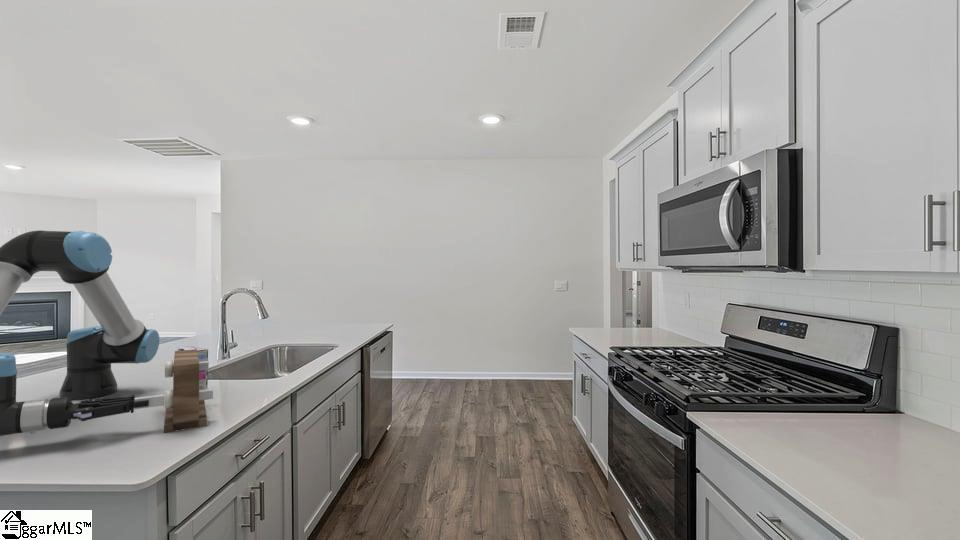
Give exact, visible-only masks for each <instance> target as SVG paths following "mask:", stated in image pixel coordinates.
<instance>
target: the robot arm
mask: <svg viewBox="0 0 960 540" xmlns="http://www.w3.org/2000/svg"><path fill="white" fill-rule="evenodd" d="M112 253H113V251H112V247H111V245H110V243H109V242H108V240H107V239H106V238H105V237H104V236H102V235H101V234H98V233H96V232H90V231H84V230H74V231H66V230H64V231H62V230H61V231H60V230H59V231H58V230H32V231H28V232H25V233H21V234H18V235H17V236H15V237H13V238H11V239H10V240H8V241H6V242H5V243H4V244H2V245H1V246H0V316H1V315H2V314H3V312H4V311H5V309H6V308H7V306H8V305H9V304H10V302H11V300H12V299H13V297H14V295H16V293H17V291H18V289H19V288H20V287H21V285H22V284H23V283H24V284H25V283H27V282H29V281H30V280H31V279H32V277H33V276H34V275H35V274H37V273H39V272H56V273H57V275H59V277H60V279H61V280H62V281H63V282H64V283H65V284H68V285H73V286H74V288H75V289H76V290H77V293H78V294H79V296H80V297H81V298H82V300H83V302H84V303H85V304H86V306H87V307H88V309H89V310H90V312H91V313H92V315H93V316H94V318H95V319H96V321H97V322H98V324H99V325H98V326H97V325H96V326H90V327H84V328H79V329H73V330H71V331H69V332H68V334H67V337H66V374H65V378H64V380H63V383H62V385H61V386H60V387H61V388H60V389H59V397H54V398H51V399H48V398H41V399H32V400H26V401H17V375H18V374H17V373H18V369H17V363H16V361H17V360H16V356H15V355H14V354H12V353H8V352H7V353H6V352H5V353H2V352H1V353H0V437H2V436H9V435H17V434H25V433H29V434H31V435H32V434H35V433H36V432H38V431H45V430H47V429H50V430H53V429H54V430H56V429H61V428H62V429H63V428H64V429H65V428H67V427H69V426H70V424H71V422H72V420H79V421H80V422H85V421H88V420H89V421H90V420H95V419H98V418H104V417H105V418H106V417H110V416H117V415H120V414H128V413H130V414H133V413H135V412H134V411H135V410H141V409H147V408H155V407H161V406H162V407H163V406H164V399H165V394H159V395H157V394H156V395H150V396H149V395H148V396H140V397H136V395H135V394H132V395H130V396H118V397H115V396H114V397H105V398H103V396H107V395H111V394H113V393H115V392H117V391H118V383H117V379H116V377H115V375H114V373H113V371H112V364H136V365H137V364H146V363H149V362H151V361H152V360H153V358H154V357H156V355H157V353H158V350H159V348H160V347H159V346H160V334H159V332H158V330H156V329H152V328H149V329H148V328H146V326H145V325H144V322H143V321H141V320H139V319H137V318H136V319H135V318H134V316H133V315H132V312H131V311H130V309H129V308H128V306H127V304H126V303H125V301H124V299H123V298H122V295H121V293H120V292H119V290H118V289H117V287H116V285H115V284H114V282H113V280H112V279H111V277H110V275H109V274H108V271H109V269H110V266H111V264H112V261H113V255H112ZM100 397H102V398H100ZM74 400H80V402H76V403H73V401H74Z"/></svg>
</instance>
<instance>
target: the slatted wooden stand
mask: <svg viewBox="0 0 960 540" xmlns="http://www.w3.org/2000/svg"><path fill="white" fill-rule="evenodd" d="M173 364H174V365H173V377H172V378H173V380H172V382H173V387H172V390H173V408H167V409H165V413H164V414H165V415H164V422H163V423H164V424H163V433H164V432H165V433H171V432H170V431H172V432H177V431H176V430H178V431H183V430H182V429H184V430H190V428H191V429H197V428H203V427H208V416H207V409H206V400H199V359H198V352H197V349H194V350H181V351H178V350H174V355H173ZM202 426H203V427H202ZM196 427H197V428H196Z"/></svg>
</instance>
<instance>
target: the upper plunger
mask: <svg viewBox="0 0 960 540" xmlns="http://www.w3.org/2000/svg"><path fill="white" fill-rule="evenodd" d="M173 365H174V360H165V362H164V378H173ZM202 370H208V371H209V370H210V369H209V360H208V361H202V362H199V371H202Z"/></svg>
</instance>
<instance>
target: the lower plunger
mask: <svg viewBox="0 0 960 540" xmlns="http://www.w3.org/2000/svg"><path fill="white" fill-rule="evenodd" d="M213 399H214V390H213V388H207V389H204V390H199V400H204V401H207V400H213ZM167 408H173V389H166V390H164V409H165V410H166V409H167Z"/></svg>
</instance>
